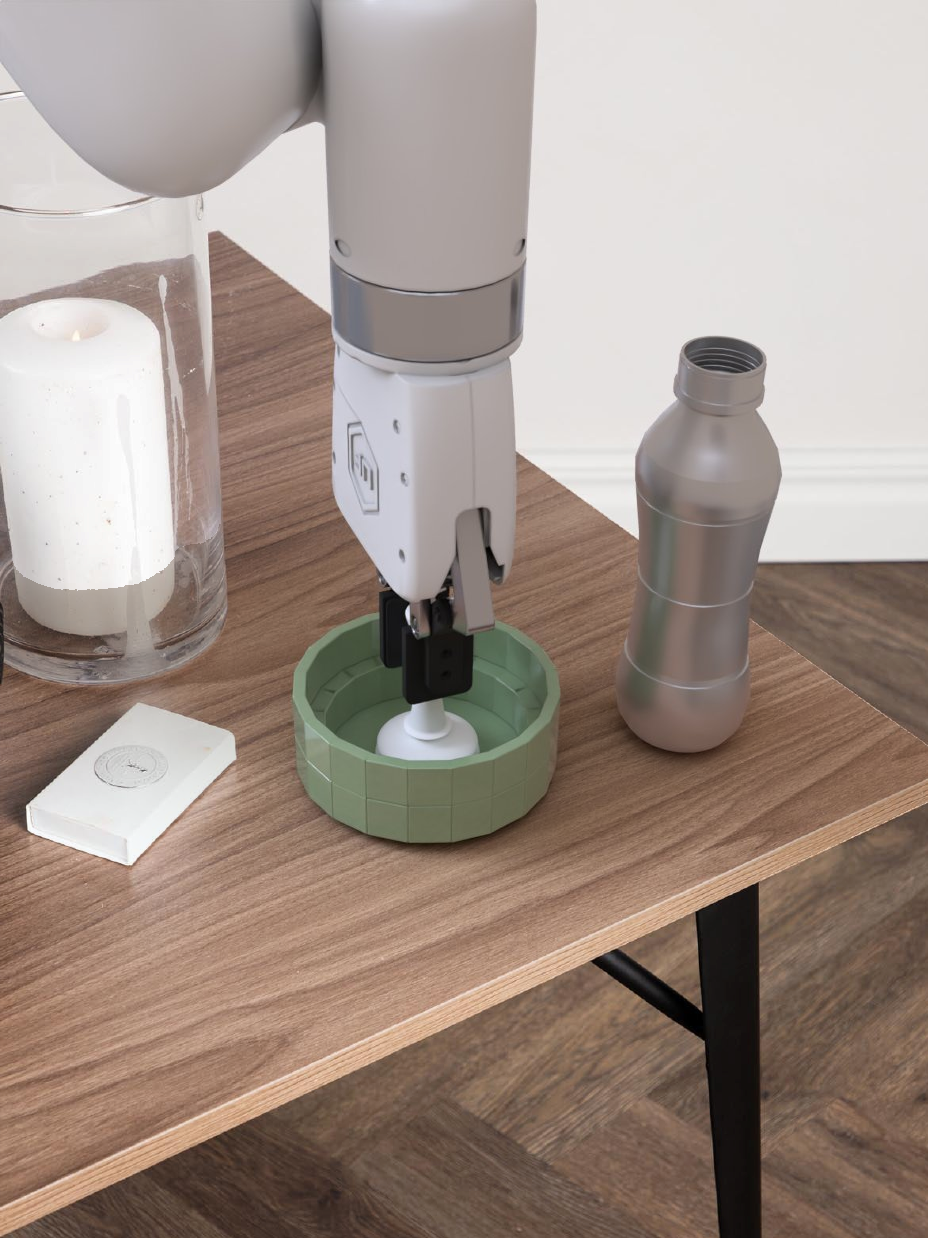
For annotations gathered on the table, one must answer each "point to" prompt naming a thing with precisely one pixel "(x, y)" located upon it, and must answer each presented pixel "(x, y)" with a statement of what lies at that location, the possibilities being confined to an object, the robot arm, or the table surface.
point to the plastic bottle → (699, 550)
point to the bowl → (424, 789)
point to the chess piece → (427, 732)
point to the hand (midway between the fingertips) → (425, 674)
